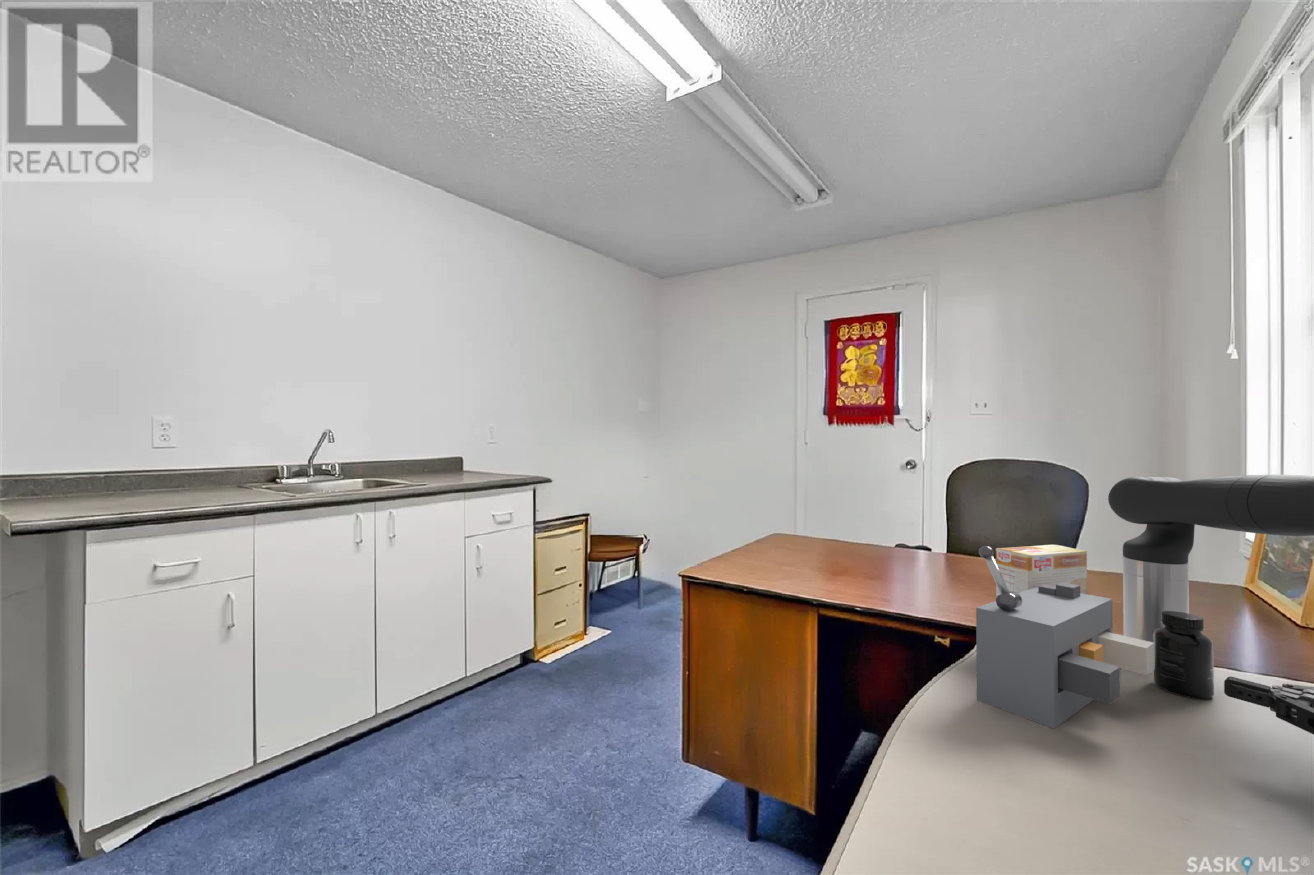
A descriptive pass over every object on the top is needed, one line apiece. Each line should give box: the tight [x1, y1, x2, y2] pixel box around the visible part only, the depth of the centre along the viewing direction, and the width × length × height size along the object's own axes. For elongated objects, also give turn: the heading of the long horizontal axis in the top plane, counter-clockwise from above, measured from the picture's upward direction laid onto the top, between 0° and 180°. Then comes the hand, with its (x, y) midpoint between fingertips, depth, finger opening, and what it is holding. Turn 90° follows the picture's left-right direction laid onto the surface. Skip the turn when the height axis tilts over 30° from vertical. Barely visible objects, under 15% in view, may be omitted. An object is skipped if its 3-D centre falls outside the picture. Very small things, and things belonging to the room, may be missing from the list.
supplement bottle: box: [1153, 611, 1215, 700], centre depth 84 cm, size 7×7×12 cm
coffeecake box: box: [995, 544, 1088, 599], centre depth 100 cm, size 15×7×20 cm, turn 106°
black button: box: [1058, 652, 1121, 705], centre depth 73 cm, size 4×8×4 cm, turn 34°
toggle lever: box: [978, 545, 1022, 611], centre depth 81 cm, size 3×2×10 cm
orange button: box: [1079, 641, 1104, 662], centre depth 81 cm, size 4×8×4 cm, turn 34°
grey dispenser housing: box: [975, 582, 1114, 729], centre depth 83 cm, size 24×10×16 cm, turn 124°
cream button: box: [1098, 631, 1155, 676], centre depth 82 cm, size 4×8×4 cm, turn 34°
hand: (1225, 685), depth 67 cm, fingers closed
